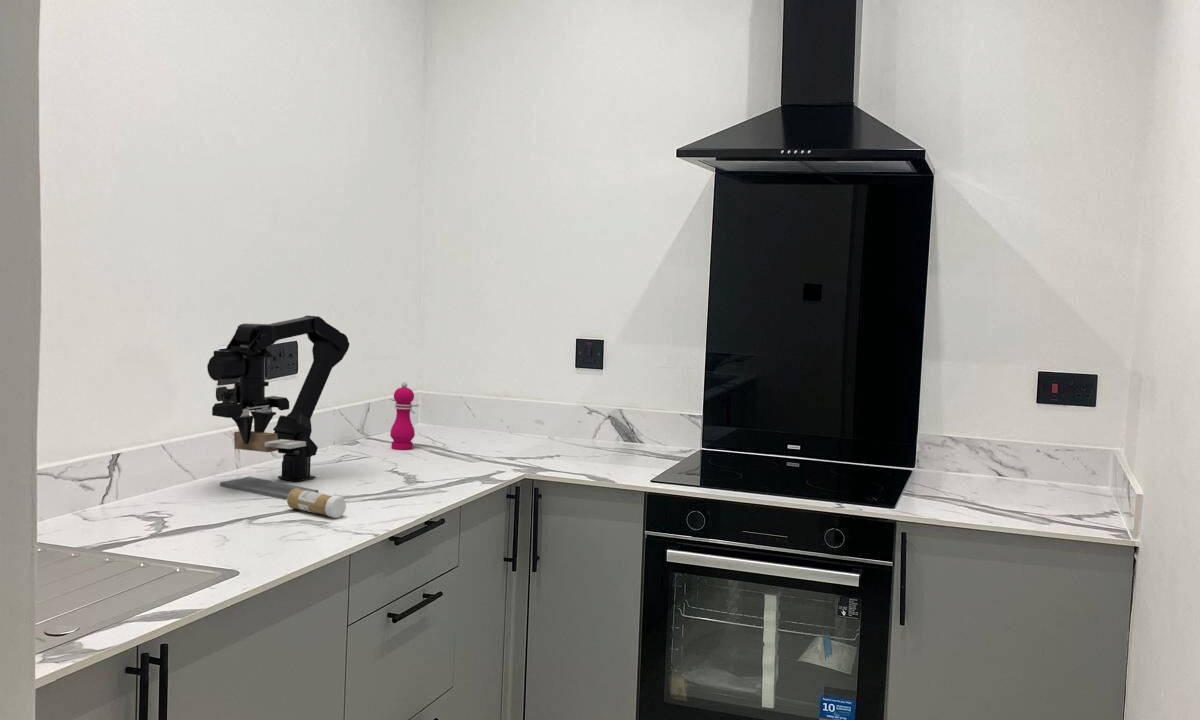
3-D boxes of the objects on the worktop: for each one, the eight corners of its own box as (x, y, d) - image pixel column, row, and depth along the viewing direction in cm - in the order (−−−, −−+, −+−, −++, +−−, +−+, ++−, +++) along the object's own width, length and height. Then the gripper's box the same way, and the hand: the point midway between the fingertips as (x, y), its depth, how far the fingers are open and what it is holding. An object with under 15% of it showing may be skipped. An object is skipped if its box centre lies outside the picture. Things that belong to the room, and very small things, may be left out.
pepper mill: (388, 446, 300) (390, 380, 298) (412, 446, 302) (415, 381, 300) (390, 450, 293) (393, 383, 291) (415, 450, 295) (418, 383, 293)
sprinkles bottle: (286, 511, 215) (332, 521, 209) (285, 491, 214) (330, 500, 208) (302, 504, 219) (347, 514, 212) (301, 485, 218) (346, 494, 212)
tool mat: (249, 479, 243) (249, 476, 243) (318, 493, 232) (318, 490, 232) (219, 485, 235) (219, 482, 235) (289, 500, 224) (289, 496, 224)
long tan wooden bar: (231, 449, 234) (230, 432, 234) (247, 446, 238) (247, 429, 238) (290, 455, 225) (289, 438, 225) (306, 452, 229) (305, 435, 229)
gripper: (258, 371, 245) (257, 433, 246) (195, 377, 228) (195, 444, 230) (291, 375, 239) (290, 438, 241) (229, 382, 223) (229, 450, 225)
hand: (251, 442), depth 234 cm, fingers closed on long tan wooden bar, 3 cm apart
